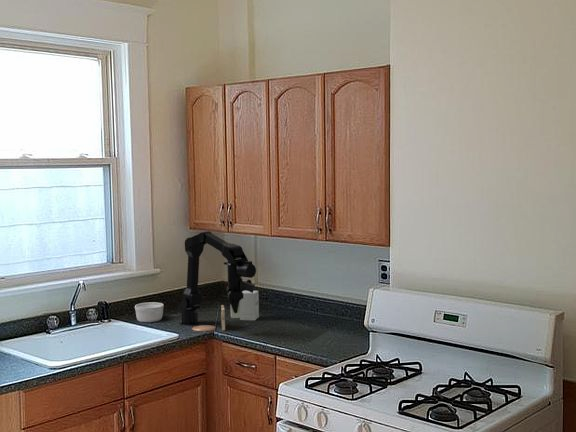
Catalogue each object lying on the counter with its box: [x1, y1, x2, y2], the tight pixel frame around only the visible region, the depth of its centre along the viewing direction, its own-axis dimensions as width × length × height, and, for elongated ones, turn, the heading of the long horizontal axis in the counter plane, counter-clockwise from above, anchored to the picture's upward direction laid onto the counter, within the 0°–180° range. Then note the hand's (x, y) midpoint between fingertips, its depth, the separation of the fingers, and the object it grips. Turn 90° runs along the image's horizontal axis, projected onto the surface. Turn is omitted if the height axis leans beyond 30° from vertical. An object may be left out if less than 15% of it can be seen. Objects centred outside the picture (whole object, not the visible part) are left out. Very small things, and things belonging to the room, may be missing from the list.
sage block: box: [230, 301, 241, 319], centre depth 317 cm, size 4×4×7 cm
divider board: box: [220, 304, 226, 331], centre depth 328 cm, size 10×1×9 cm, turn 6°
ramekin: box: [134, 301, 165, 323], centre depth 348 cm, size 13×13×7 cm
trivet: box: [191, 324, 216, 332], centre depth 327 cm, size 10×10×1 cm
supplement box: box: [239, 290, 260, 321], centre depth 345 cm, size 7×7×13 cm
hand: (235, 312), depth 317 cm, fingers closed on sage block, 4 cm apart
